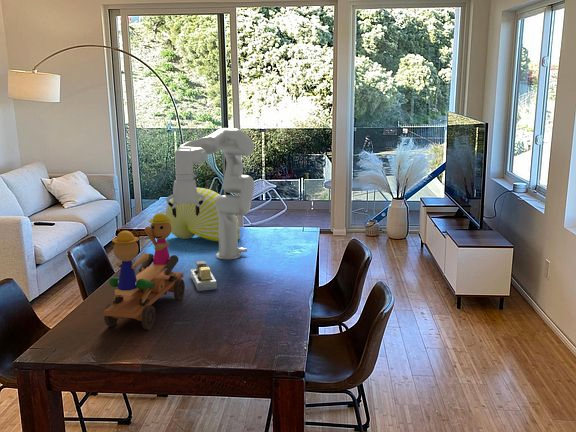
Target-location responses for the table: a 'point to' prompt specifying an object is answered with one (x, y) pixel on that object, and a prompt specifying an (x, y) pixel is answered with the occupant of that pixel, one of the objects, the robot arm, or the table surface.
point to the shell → (197, 218)
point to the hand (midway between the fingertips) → (186, 215)
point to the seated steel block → (198, 265)
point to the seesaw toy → (143, 275)
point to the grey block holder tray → (203, 282)
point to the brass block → (205, 273)
